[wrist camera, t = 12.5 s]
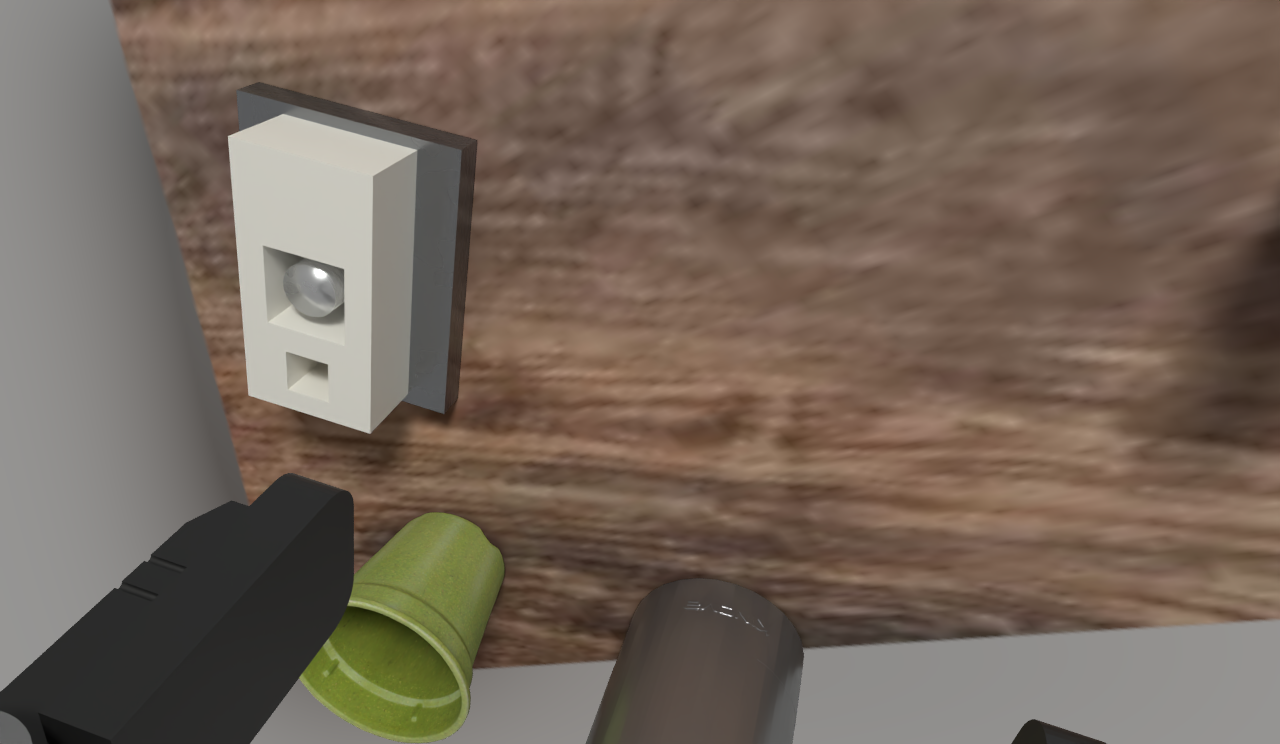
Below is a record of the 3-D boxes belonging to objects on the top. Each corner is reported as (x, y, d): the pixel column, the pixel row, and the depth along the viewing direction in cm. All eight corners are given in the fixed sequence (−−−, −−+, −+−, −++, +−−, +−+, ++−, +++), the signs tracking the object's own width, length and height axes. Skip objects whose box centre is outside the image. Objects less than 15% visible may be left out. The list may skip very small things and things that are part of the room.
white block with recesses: (283, 114, 36) (227, 136, 33) (417, 150, 36) (372, 176, 33) (294, 358, 43) (248, 395, 40) (408, 393, 42) (370, 433, 39)
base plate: (457, 397, 43) (414, 449, 39) (274, 341, 44) (215, 385, 41) (477, 140, 36) (427, 172, 32) (258, 82, 38) (186, 106, 34)
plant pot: (533, 635, 50) (469, 766, 43) (382, 595, 52) (297, 714, 45) (536, 508, 45) (465, 632, 38) (370, 468, 47) (272, 579, 40)
